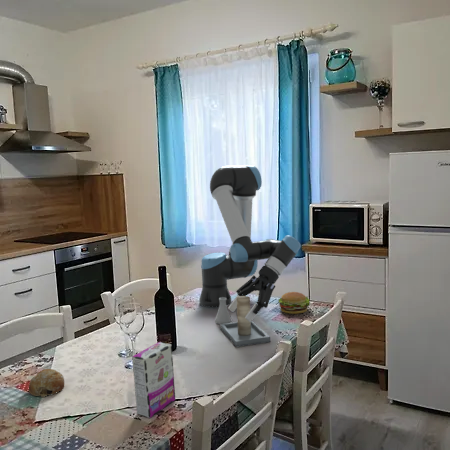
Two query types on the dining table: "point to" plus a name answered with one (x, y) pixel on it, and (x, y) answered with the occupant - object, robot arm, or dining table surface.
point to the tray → (238, 340)
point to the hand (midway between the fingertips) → (238, 315)
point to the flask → (223, 313)
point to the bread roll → (46, 383)
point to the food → (294, 303)
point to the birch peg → (243, 315)
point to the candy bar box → (153, 379)
